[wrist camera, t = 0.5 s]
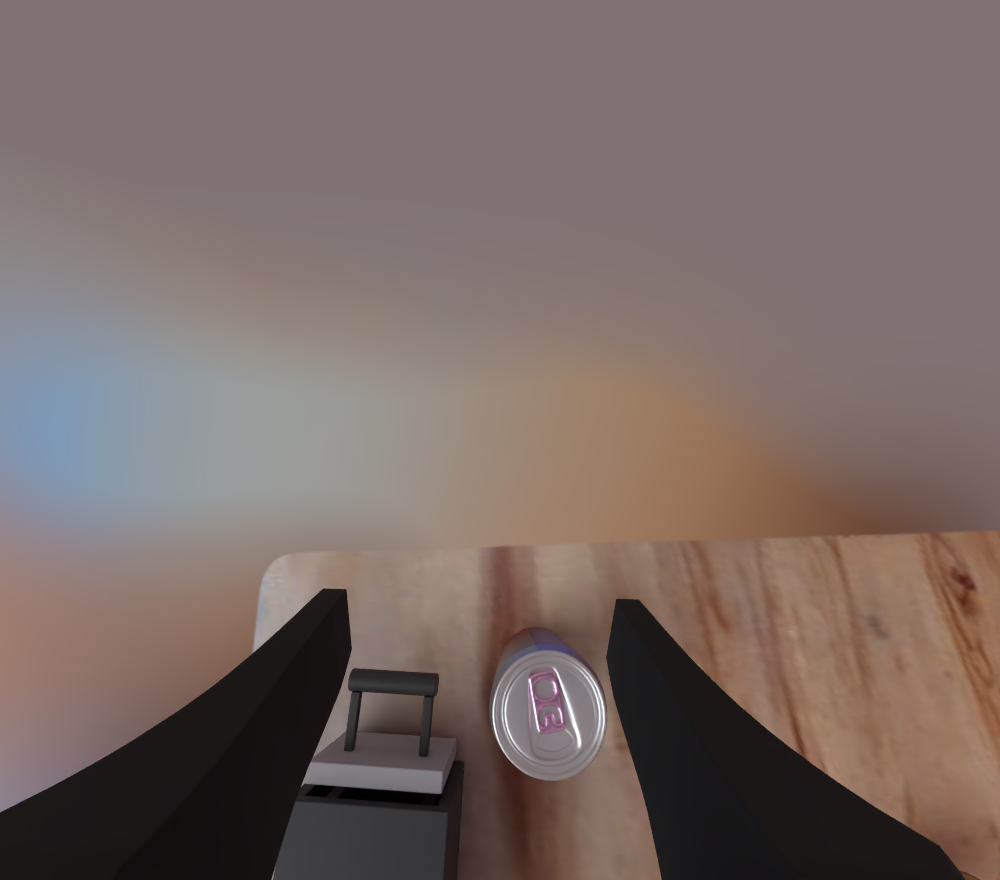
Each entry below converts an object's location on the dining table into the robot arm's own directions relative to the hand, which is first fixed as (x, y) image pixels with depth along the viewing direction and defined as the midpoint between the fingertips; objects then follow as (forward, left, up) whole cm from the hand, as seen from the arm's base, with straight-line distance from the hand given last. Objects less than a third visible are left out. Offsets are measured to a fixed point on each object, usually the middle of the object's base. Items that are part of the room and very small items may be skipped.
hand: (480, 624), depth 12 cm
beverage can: (-5, -3, -27) cm, 28 cm away
